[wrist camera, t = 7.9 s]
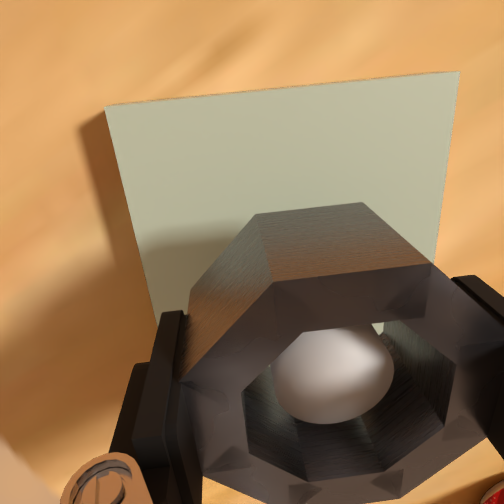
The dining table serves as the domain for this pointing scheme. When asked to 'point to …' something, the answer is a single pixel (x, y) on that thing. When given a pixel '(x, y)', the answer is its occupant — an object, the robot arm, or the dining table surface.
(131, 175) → the green peg stand
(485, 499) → the soda can
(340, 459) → the ring
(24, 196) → the dining table surface
